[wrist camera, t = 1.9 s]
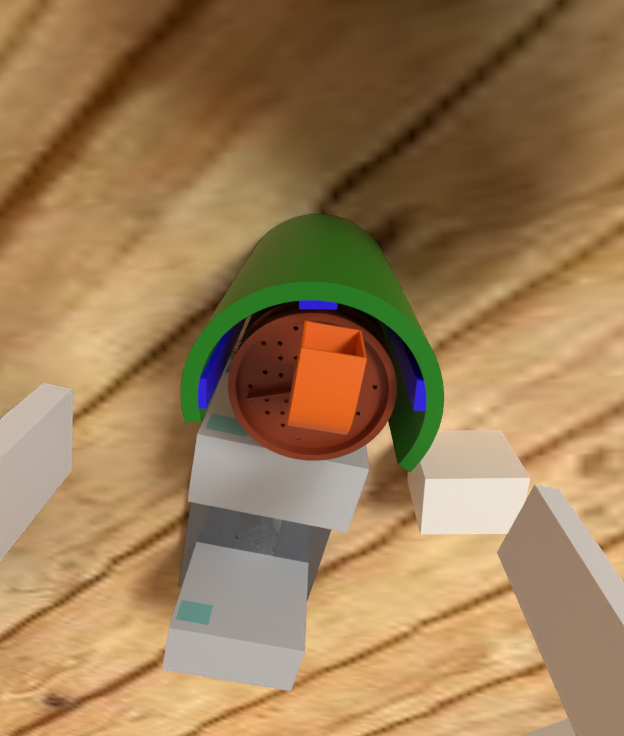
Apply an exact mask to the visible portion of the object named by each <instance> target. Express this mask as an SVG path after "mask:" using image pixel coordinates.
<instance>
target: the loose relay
mask: <svg viewBox="0 0 624 736" xmlns="http://www.w3.org/2000/svg"><path fill="white" fill-rule="evenodd" d="M407 482H408V486H409V490H410V494H411V498H412V502H413V506H414V510H415V514H416V518H417V522H418V526H419V530H420V534H508V532H509V530H510V528H511V526H512V525H513V523H514V521H515V519H516V517H517V516H518V514H519V512H520V510H521V508H522V507H523V505H524V503H525V501H526V496H527V492H528V487H529V482H530V476H529V475H528V473H527V472H526V470H525V468H524V467H523V465H522V464H521V462H520V460H519V459H518V457H517V456H516V454H515V452H514V451H513V449H512V448H511V446H510V444H509V443H508V441H507V440H506V438H505V436H504V435H503V433H502V432H501V430H441V431H438V432H437V435H436V437H435V439H434V441H433V443H432V445H431V447H430V449H429V450H428V452H427V453H426V455H425V456H424V457H423V459H422V460H421V461H420V463H419V464H418V465H417V466H416V467H415V468H414V469H413V470H412V471H411V472H409V471H408V479H407Z"/></svg>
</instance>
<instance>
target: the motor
mask: <svg viewBox="0 0 624 736" xmlns="http://www.w3.org/2000/svg"><path fill="white" fill-rule="evenodd" d="M251 314H252V316H251V319H250V321H249V323H248V326H247V328H246V331H245V333H244V336H243V338H242V340H241V343H240V345H239V348H238V350H237V352H236V355H235V357H234V360H233V362H232V365H231V368H230V372H229V378H228V394H229V400H230V404H231V407H232V410H233V412H234V414H235V416H236V418H237V420H238V422H239V423H240V425H241V426H242V427H243V429H244V430H245V431H246V432H247V433H248V434H249V435H250V436H251V437H252V438H253V439H254V440H255V441H256V442H258V443H259V444H261V445H262V446H264V447H265V448H267V449H269V450H271V451H273V452H275V453H277V454H280V455H282V456H285V457H289V458H293V459H298V460H307V461H321V460H329V459H334V458H338V457H342V456H345V455H347V454H350V453H352V452H354V451H356V450H358V449H360V448H362V447H363V446H365V445H366V444H367V443H369V442H370V441H371V440H372V439H374V438H375V437H376V436H377V435H378V434H379V433H380V431H381V430H382V429H383V428H384V426H385V425H386V423H387V422H389V426H390V431H391V435H392V440H393V444H394V449H395V453H396V458H397V462H398V465H399V466H401V467H402V468H404V469H405V470H407V471H409V472H411V471H412V470H413V469H414V468H415V467H416V466H417V465H418V464H419V463H420V461H421V460H422V459H423V457H424V456H425V455H426V453H427V452H428V450H429V449H430V447H431V445H432V443H433V441H434V439H435V437H436V435H437V432H438V429H439V426H440V423H441V419H442V414H443V406H444V387H443V380H442V375H441V371H440V368H439V364H438V362H437V359H436V357H435V354H434V352H433V350H432V348H431V346H430V344H429V343H428V341H427V339H426V337H425V335H424V333H423V331H422V329H421V327H420V325H419V323H418V321H417V319H416V317H415V315H414V313H413V311H412V309H411V307H410V305H409V303H408V301H407V299H406V297H405V295H404V293H403V291H402V289H401V287H400V285H399V283H398V281H397V279H396V277H395V275H394V273H393V271H392V269H391V267H390V265H389V263H388V261H387V259H386V257H385V255H384V253H383V251H382V250H381V248H380V247H379V245H378V244H377V242H376V241H375V240H374V239H373V238H372V237H371V236H370V235H369V234H368V233H367V232H366V231H365V230H363V229H362V228H361V227H359V226H358V225H356V224H354V223H352V222H350V221H348V220H346V219H343V218H340V217H337V216H332V215H326V214H309V215H303V216H299V217H295V218H292V219H289V220H287V221H285V222H283V223H281V224H279V225H278V226H276V227H275V228H273V229H272V230H271V231H269V232H268V233H267V234H266V235H265V236H264V237H263V238H262V239H261V241H260V242H259V243H258V244H257V246H256V247H255V249H254V250H253V252H252V254H251V255H250V257H249V258H248V260H247V261H246V263H245V265H244V266H243V268H242V269H241V271H240V272H239V274H238V275H237V277H236V279H235V280H234V282H233V283H232V285H231V286H230V288H229V290H228V291H227V293H226V294H225V296H224V297H223V299H222V301H221V302H220V304H219V305H218V307H217V308H216V310H215V312H214V313H213V315H212V316H211V318H210V319H209V321H208V323H207V324H206V326H205V327H204V329H203V330H202V332H201V333H200V335H199V337H198V338H197V340H196V341H195V343H194V345H193V347H192V349H191V351H190V353H189V355H188V358H187V360H186V363H185V367H184V370H183V375H182V381H181V406H182V412H183V417H184V420H185V422H202V420H203V417H204V415H205V413H206V411H207V408H208V406H209V404H210V401H211V399H212V397H213V394H214V392H215V390H216V388H217V385H218V383H219V381H220V378H221V376H222V374H223V371H224V369H225V367H226V365H227V362H228V360H229V358H230V355H231V353H232V351H233V349H234V346H235V344H236V342H237V339H238V337H239V335H240V332H241V330H242V328H243V326H244V323H245V321H246V319H247V317H248V316H250V315H251ZM296 437H300V438H296Z"/></svg>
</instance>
